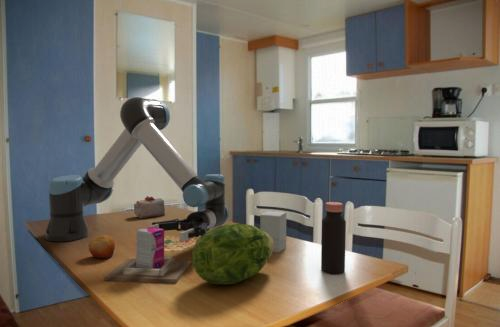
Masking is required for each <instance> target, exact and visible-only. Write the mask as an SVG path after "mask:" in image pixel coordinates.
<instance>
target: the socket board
mask: <svg viewBox="0 0 500 327" xmlns="http://www.w3.org/2000/svg"><path fill="white" fill-rule="evenodd" d="M190 265H191V260H186V259H181V260H180V259H179V260H178V259H175V257H165V256H164V265H163V266H162V268H159V269H150V268H136V258H127V259H125V260H123V262H121V263H120V264H118V265H117V266H116V267H114V268H113V269H112V270H111V271H110V272H108V273H107V274H106V275H104V276H103V278H104V279H103V280H104V281H114V282H115V281H117V282H138V283H139V282H141V283H163V284H165V283H166V284H177V283H178V281H179V280H180V279H181V277H182V276H183V275H184V273H185V272H186V270H187V269H188V268H189V266H190Z"/></svg>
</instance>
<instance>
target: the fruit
mask: <svg viewBox="0 0 500 327" xmlns="http://www.w3.org/2000/svg"><path fill="white" fill-rule="evenodd" d="M115 243H116V242H115V240H114V238H113V236H111V235H109V234H104V235H103V234H101V235H98V236H96V237H94V238H93V239H92V240H90V242H89V243H88V250H89V253H90V254H91V256H92V257H93V258H95V259H109V258H110V257H113V255H114V253H115V248H116V244H115Z"/></svg>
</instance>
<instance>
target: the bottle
mask: <svg viewBox="0 0 500 327" xmlns="http://www.w3.org/2000/svg"><path fill="white" fill-rule="evenodd" d="M343 209H344V204H343V203H342V202H337V201H329V202H328V201H327V202H325V213H326V215H325V216H324V217H323V218H322V219H321V250H320V251H321V253H320V254H321V256H320V260H321V262H320V269H321V271H322V272H323V273H325V274H328V273H329V275H341V273H342V274H343V273H345V270H346V235H347V233H346V231H347V230H346V227H347V221H346V219H345V218H344V216H342V214H343V211H344V210H343Z"/></svg>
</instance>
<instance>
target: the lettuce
mask: <svg viewBox="0 0 500 327" xmlns="http://www.w3.org/2000/svg"><path fill="white" fill-rule="evenodd" d="M273 248H274V242H273V239H272V238H271V237H270V235H269V234H267V233H266V232H264V231H262V230H260V227H259V228H258V227H257V226H254V225H251V224H245V223H229V224H227V223H225V224H222V225H221V226H217V227H214V228H212V229H210V230H209V231H207V233H206V234H204V235H202V236H199V237H198V239H197V240H196V242H195V244H194V246H193V248H192V252H191V261H192V265H193V269H194V270H195V273H196V274H197V275H198V277H199V278H200V279H202V280H203V281H205V282H206V283H210V284H212V285H235V284H237V283H239V282H242V281H244V280H247V279H248V278H251V277H253V276H255V275H257V274H258V273H259V272H260V271H261V270H262V269H263V268H264V266H265V265H266V264H267V262H268V261H269V259H270V258H271V256H272V254H273Z"/></svg>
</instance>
